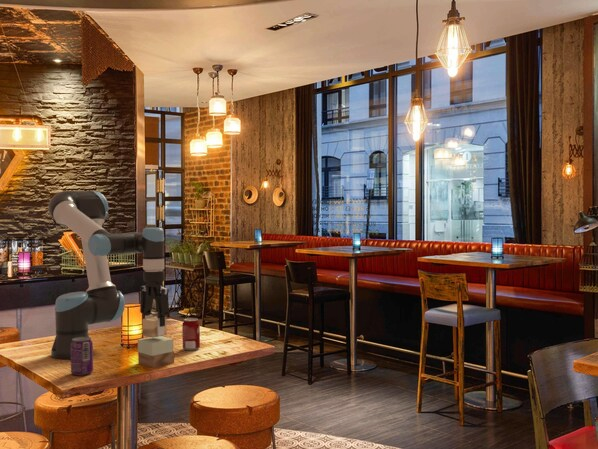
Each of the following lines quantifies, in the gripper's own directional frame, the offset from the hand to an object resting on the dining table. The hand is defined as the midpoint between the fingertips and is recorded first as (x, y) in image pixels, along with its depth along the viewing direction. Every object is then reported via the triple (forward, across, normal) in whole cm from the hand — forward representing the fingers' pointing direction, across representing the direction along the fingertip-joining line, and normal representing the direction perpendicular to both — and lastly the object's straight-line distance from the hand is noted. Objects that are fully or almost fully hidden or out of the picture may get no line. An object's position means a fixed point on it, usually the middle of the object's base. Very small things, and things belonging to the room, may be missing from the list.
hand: (154, 334), depth 225 cm
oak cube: (0, 0, 0) cm, 0 cm away
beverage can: (+11, +9, +24) cm, 28 cm away
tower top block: (+6, 0, 0) cm, 6 cm away
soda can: (+11, +6, -22) cm, 26 cm away
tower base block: (+11, 0, 0) cm, 11 cm away
